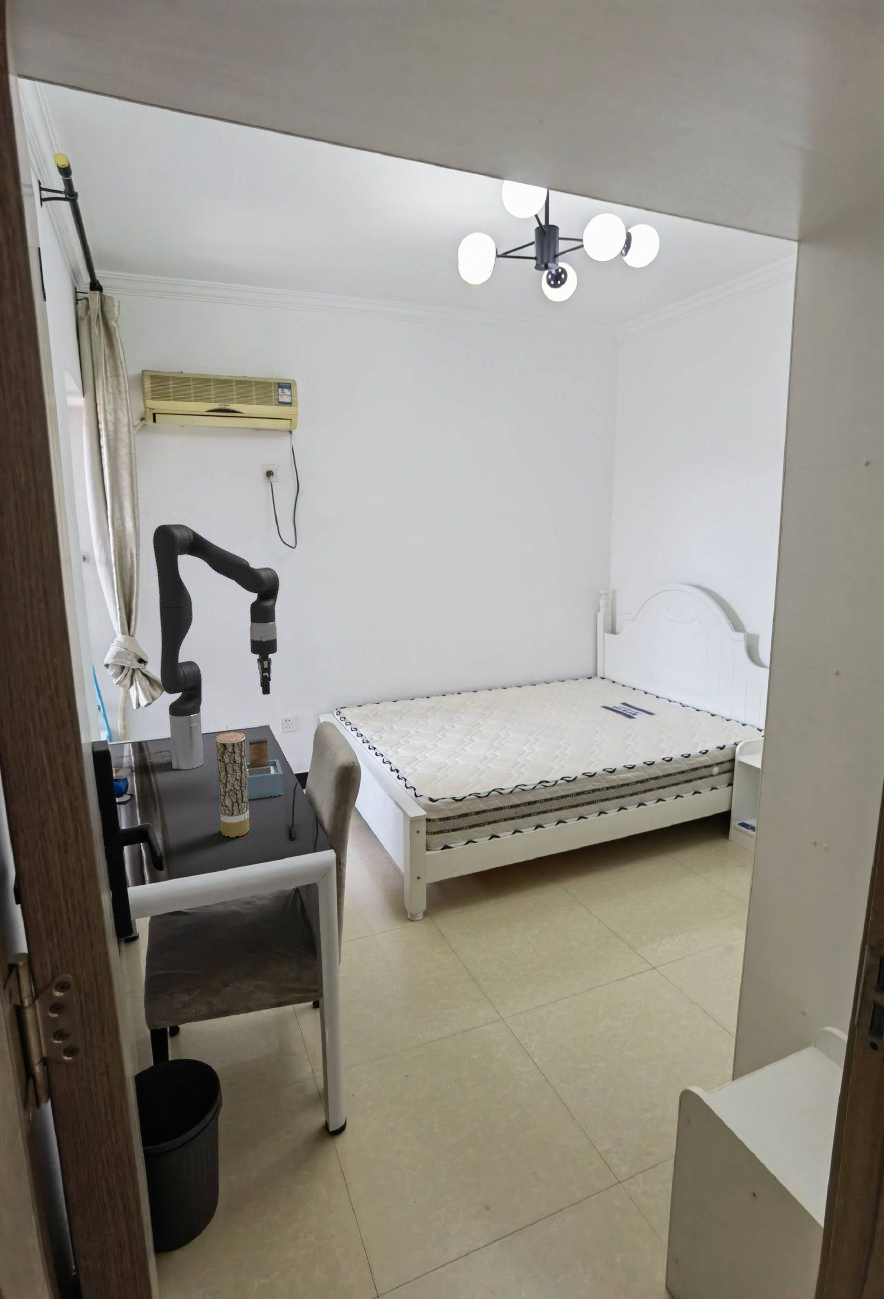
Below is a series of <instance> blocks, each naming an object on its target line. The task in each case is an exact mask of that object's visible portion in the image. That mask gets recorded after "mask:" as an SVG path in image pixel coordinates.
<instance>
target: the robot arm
mask: <svg viewBox="0 0 884 1299" xmlns="http://www.w3.org/2000/svg"><path fill="white" fill-rule="evenodd" d="M152 545H153V547H152V548H153V552H154V553H153V554H154V559H155V565H156V571H157V572H156V574H157V581H158V583H157V584H158V597H159V598H158V600H159V602H158V604H159V618H160V619H159V620H160V633H161V634H160V635H161V640H160V641H161V648H160V649H161V650H160V651H161V652H160V673H159V674H160V682H161V683H160V684H161V686H162V688H163V690H164V692H165V693H166V694H168V695H175V694H180V693H181V694H180V695H179V697H178V698H176V699H175V700H174V701H173V702H171V703H170V704H169V706H168V718H169V728H170V729H169V730H170V731H169V732H170V753H171V754H170V755H171V766H172V770H191V769H196V768H199V767H201V766H203V765H204V748H203V744H204V743H203V734H202V733H203V731H202V716H201V715H202V714H201V705H202V702H203V697H202V696H203V692H202V691H203V690H202V685H203V684H202V683H203V681H202V680H203V679H202V673H201V668H200V667H199V664H197V662H195V661H192V660H188V661H186V660H185V661H182V662H179V658H180V656H179V655H180V650H181V647H182V644H183V642H184V640H185V638H186V636H187V635H188V633H189V630H190V629H191V626H192V624H193V600H192V597H191V594H190V592H189V590H188V589H187V587H186V585H185V583H184V580H182V577H181V574H180V571H179V556H184V555H185V556H186V555H188V556H191V557H194V558H197V559H200V560H202V561H203V562H205V563H206V564H207V565H208V566H209V567H210V568H211V569H212V570H213V571H214V572H215V573H218V574H219V575H221V576H223V577H226V578H228V579H230V580H231V581H233V582H235V583H236V584H237V585H239V587H241V588H242V589H244V590H245V591H247V592H249V593H252V594H257V596H256V599H255V600H254V601H252V603H250V606H249V609H250V610H249V614H250V615H249V617H250V625H249V641H250V642H249V643H250V653H251V654H253V655H258V658H256V665H257V670H258V675H259V679H260V680H259V683H260V688H261V694H262V695H264V696H266V695H267V696H268V695H270V694H271V685H270V684H271V680H272V678H271V677H272V676H271V675H272V664H273V663H272V658H271V657H269V655H273V654H276V653H277V652H278V638H277V636H278V634H277V629H278V628H277V624H276V603H277V600H278V595H279V590H280V589H279V588H280V578H279V575H278V573H277V571H276V570H275V569H273V568H271V567H259V568H256V567H252V566H251V564H250V563H249V561H248V560H246V559H245V558H243V557H241V556H239V555H237V554H235V553H232V552H230V551H228V550H226V549H224V548H222V547H219V546H218V545H216V544H214V543H213V542H212V541H210V540H208V539H206V538H205V537H203V536H202V535H201V534H199V533H198V532H197V531H195V530H194V529H192V528H190V527H189V526H187V525H185V524H180V523H177V524H170V523H169V524H160V525H159V526H157V527H156V528H155V530H154V533H153V537H152Z"/></svg>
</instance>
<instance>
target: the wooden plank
mask: <svg viewBox="0 0 884 1299" xmlns="http://www.w3.org/2000/svg"><path fill="white" fill-rule="evenodd" d="M268 745H269V744H268V739H267V738H259V739H258V738H257V739H249V740H248V751H249V762H250V768H257V767H266V766H268V761H269V750H268V748H269V747H268Z"/></svg>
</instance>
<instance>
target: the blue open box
mask: <svg viewBox="0 0 884 1299" xmlns="http://www.w3.org/2000/svg"><path fill="white" fill-rule="evenodd" d="M246 765H247V785H248V800H254V799H263V798H271V797H270V796H272V797H279V795H281V796H284V773H283V770H282V767H281V763H280V760H279V759H270V760H269V759H268V766H266V767H257V768H250V761H249V762H246Z"/></svg>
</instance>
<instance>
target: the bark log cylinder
mask: <svg viewBox="0 0 884 1299" xmlns="http://www.w3.org/2000/svg"><path fill="white" fill-rule="evenodd" d="M215 744H216V761H217V762H216V764H217V783H218V795H219V798H218V799H219V813H220V814H219V816H220V830H221V832H220V833H221V834H222V835H223V836H224V835H225V836H224V837H227V836H229V837H228V838H237V837H236V836H239V837H241V836H242V837H243V836H244V835H246V834H247V833H249V831H250V811H249V810H250V809H249V807H250V806H249V799H248V785H247V765H246V763H247V746H246V735H245V734H244V733H242V732H226V733H221V734H218V735H217V736H216V737H215Z"/></svg>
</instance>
